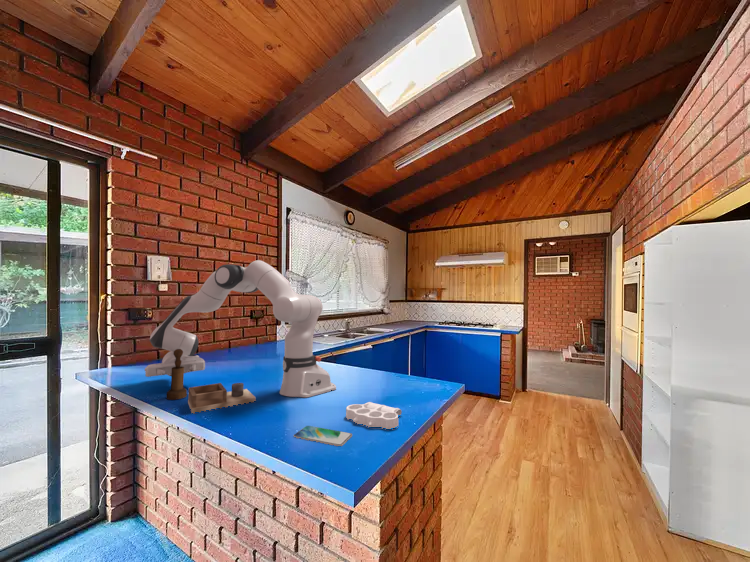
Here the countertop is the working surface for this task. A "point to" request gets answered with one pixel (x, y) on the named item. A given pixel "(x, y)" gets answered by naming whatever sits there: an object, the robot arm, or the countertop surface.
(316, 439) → the smartphone
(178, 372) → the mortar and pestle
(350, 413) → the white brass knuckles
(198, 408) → the holder stand
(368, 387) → the countertop surface
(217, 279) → the robot arm
